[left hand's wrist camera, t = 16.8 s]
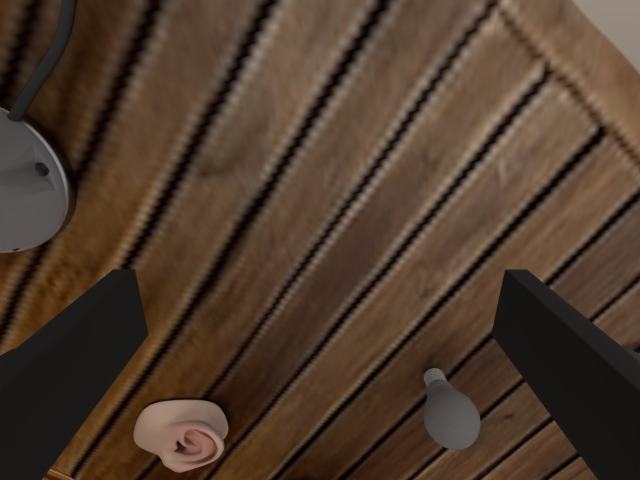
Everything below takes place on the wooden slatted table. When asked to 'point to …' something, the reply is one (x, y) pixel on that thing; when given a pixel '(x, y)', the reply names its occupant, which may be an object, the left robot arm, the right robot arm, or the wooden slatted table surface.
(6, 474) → the left robot arm
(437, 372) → the light bulb
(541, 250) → the wooden slatted table surface
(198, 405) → the anatomical model
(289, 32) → the wooden slatted table surface
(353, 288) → the wooden slatted table surface
